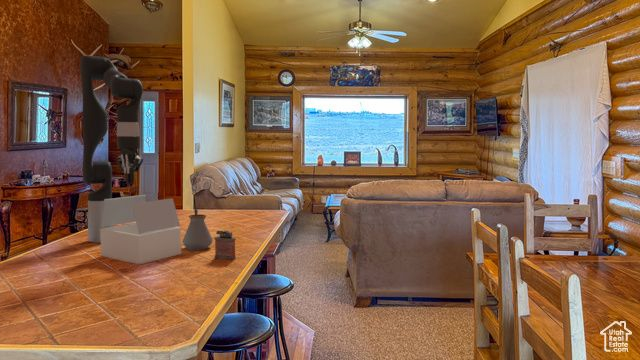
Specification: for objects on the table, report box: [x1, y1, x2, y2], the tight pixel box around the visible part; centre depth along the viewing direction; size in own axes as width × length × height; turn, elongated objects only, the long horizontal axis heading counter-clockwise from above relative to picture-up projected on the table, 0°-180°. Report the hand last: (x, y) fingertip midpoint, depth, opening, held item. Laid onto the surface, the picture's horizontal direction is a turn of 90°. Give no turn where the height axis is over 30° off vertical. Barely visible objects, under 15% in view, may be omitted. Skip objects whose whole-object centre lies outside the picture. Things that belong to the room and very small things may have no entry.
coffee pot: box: [182, 204, 214, 251], centre depth 191 cm, size 21×12×15 cm, turn 17°
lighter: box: [214, 230, 237, 260], centre depth 170 cm, size 8×3×10 cm, turn 71°
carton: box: [100, 222, 182, 265], centre depth 175 cm, size 22×18×10 cm
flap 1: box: [101, 194, 147, 227], centre depth 179 cm, size 10×17×1 cm
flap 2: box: [132, 197, 180, 233], centre depth 169 cm, size 10×17×1 cm
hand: (130, 183), depth 170 cm, fingers closed
